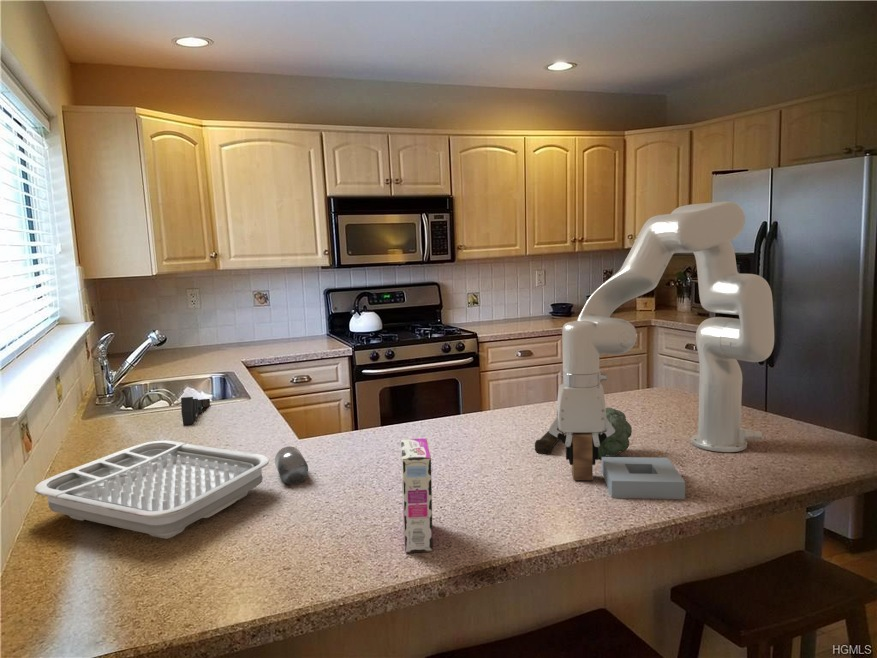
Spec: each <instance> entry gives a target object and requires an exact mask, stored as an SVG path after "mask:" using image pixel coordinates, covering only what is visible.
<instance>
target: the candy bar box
mask: <svg viewBox="0 0 877 658" xmlns="http://www.w3.org/2000/svg"><path fill="white" fill-rule="evenodd" d="M400 445H401V449H400V452H401V453H400V455H401V456H400V457H401V458H400V459H401V491H402V522H403V525H402V526H403V538H404V539H403V540H404V551H405V554H407V553H411V554H412V553H426V552H427V553H428V552H433V551H434V550H433V549H434V545H433V544H434V539H433V537H434V536H433V496H432V495H433V493H432V492H433V490H432V488H433V486H432V483H433V482H432V456H431V452H430V448H429V443H428V439H427V438H410V439H409V438H408V439H401V441H400Z"/></svg>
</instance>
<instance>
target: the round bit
mask: <svg viewBox="0 0 877 658" xmlns="http://www.w3.org/2000/svg"><path fill="white" fill-rule="evenodd" d="M274 464H275V467H276V470H277V472H278V475H279V477H280V479H281V480H282V482H283V483H285V484H287V485H298V484H300V483H302V482H303V481H304V480H305V479H306V478H307V476H308V474H309V466H308V463H307V462H306V459H305V458H304V456H303V454H302V452H301V451H300V450H299V448H296V447H294V446H285V447H283V448H281V449H280V450H278V452H276V454H275V456H274Z"/></svg>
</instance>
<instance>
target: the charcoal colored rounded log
mask: <svg viewBox="0 0 877 658" xmlns="http://www.w3.org/2000/svg"><path fill="white" fill-rule="evenodd" d="M557 430H558V431H560V430H559V428H557ZM560 432H561V431H560ZM562 433H563V432H562ZM563 434H564V435H565V433H563ZM558 441H560V440H559V439H558V438H557V437H555V436H554V435H552V434H550V433H549V430H548V431H547V432H546V433H545V434H544V435H543V436H542V437H541V438H539V439H536V440H535V442H534V451H535V453H536V454H537V453H538V455H543V454H546V455H549V454H550V453H551V450H552V448H553V447H554V446H555V445H556V444H557V443H558Z"/></svg>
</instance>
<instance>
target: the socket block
mask: <svg viewBox="0 0 877 658" xmlns="http://www.w3.org/2000/svg"><path fill="white" fill-rule="evenodd" d="M601 475H602V477H603V476H604V477H603V479H605V480H604V482H605V485H606V484H607V485H606V487H607V489H609V490H608V492H609V495H610V497H611V498H613V497H614V498H615V499H652V500H653V499H655V500H656V499H658V500H686V481H685V480H684V478H683V477H682V476H681V474H680V473H679V472H678V470H677V469H676V467H675V466H674V464H673V462H672V461H671V460H670V459H669V458H668V457H646V456H645V457H640V456H639V457H638V456H636V457H631V456H629V457H627V456H625V457H624V456H623V457H622V456H606V457H602V458H601ZM614 498H613V499H614Z"/></svg>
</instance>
